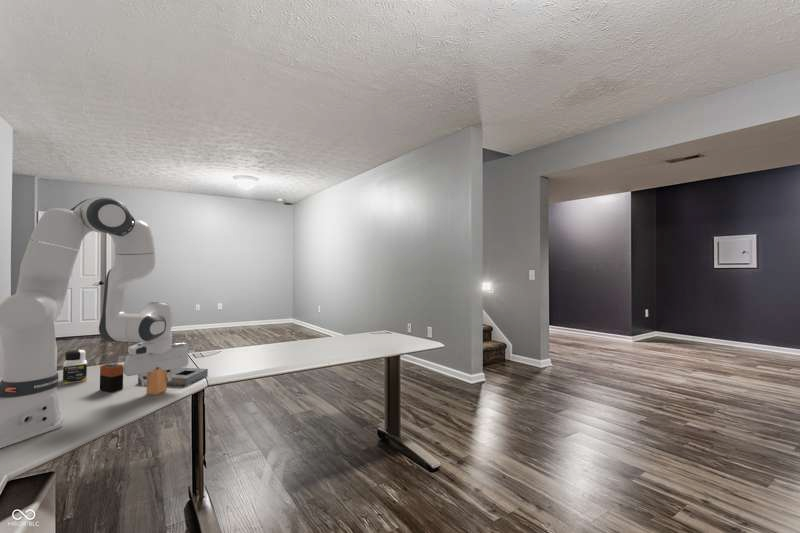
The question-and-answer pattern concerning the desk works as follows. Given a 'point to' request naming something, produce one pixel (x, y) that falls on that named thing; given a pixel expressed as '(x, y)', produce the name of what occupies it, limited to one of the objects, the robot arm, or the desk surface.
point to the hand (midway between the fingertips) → (156, 383)
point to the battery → (111, 377)
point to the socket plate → (183, 376)
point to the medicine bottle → (74, 367)
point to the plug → (157, 381)
